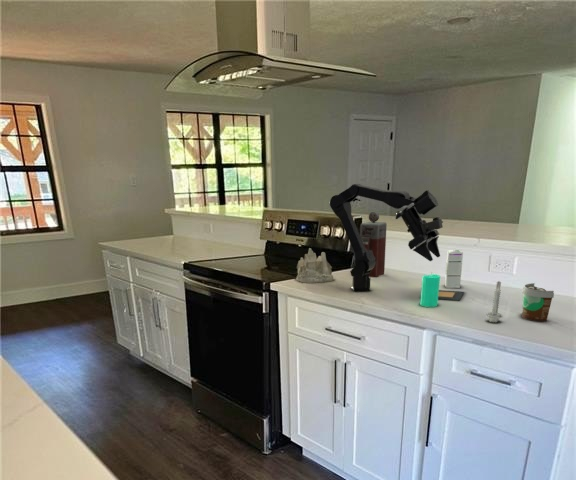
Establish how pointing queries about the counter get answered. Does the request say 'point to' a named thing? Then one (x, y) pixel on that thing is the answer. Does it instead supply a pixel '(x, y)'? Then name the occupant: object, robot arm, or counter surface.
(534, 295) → the food container
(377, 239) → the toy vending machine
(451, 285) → the grey tower
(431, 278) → the candle
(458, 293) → the mat
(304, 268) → the sand castle
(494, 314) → the screw
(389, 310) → the counter surface
